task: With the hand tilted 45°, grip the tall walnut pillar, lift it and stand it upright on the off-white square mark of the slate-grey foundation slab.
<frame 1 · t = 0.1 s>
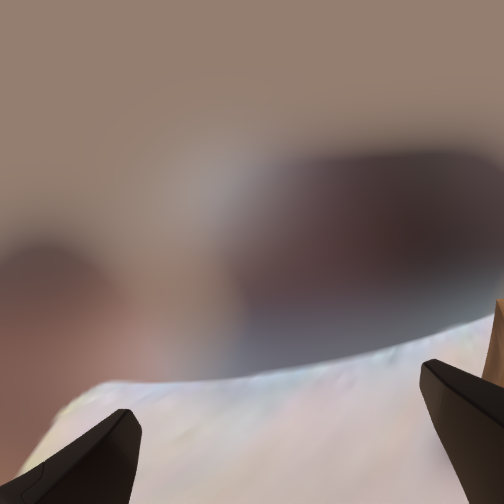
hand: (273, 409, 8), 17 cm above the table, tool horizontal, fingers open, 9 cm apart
walnut pillar: (487, 446, 15), on the table
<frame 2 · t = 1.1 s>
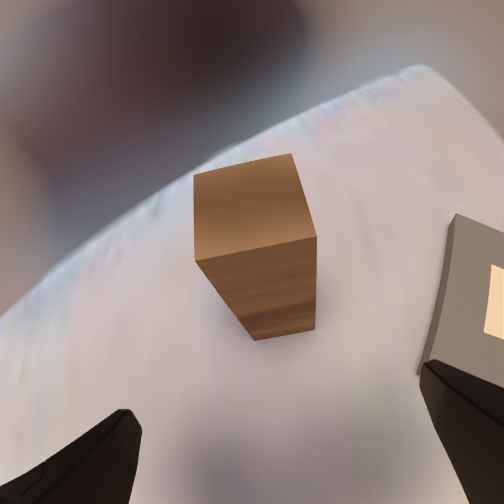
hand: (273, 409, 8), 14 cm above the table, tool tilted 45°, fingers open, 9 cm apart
foundation slab: (502, 315, 19), on the table
walnut pillar: (279, 307, 23), on the table
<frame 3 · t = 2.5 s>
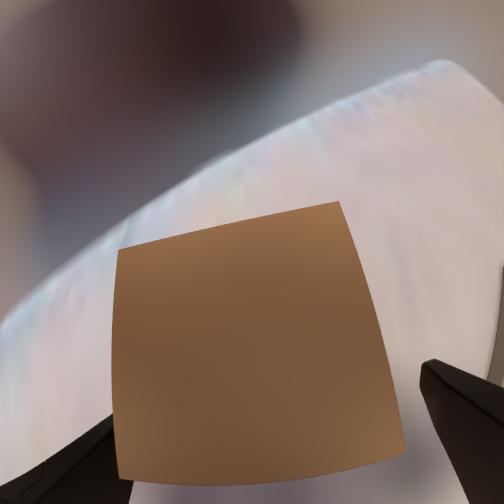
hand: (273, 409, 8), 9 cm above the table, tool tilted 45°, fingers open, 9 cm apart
walnut pillar: (288, 392, 16), on the table
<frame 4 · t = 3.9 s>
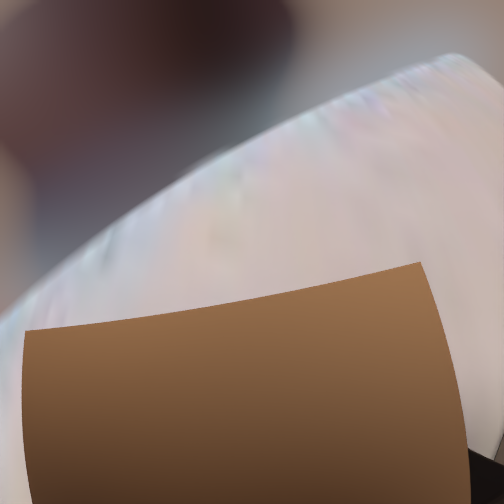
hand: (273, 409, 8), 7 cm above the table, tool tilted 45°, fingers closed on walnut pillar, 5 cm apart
walnut pillar: (292, 434, 13), on the table, touching gripper
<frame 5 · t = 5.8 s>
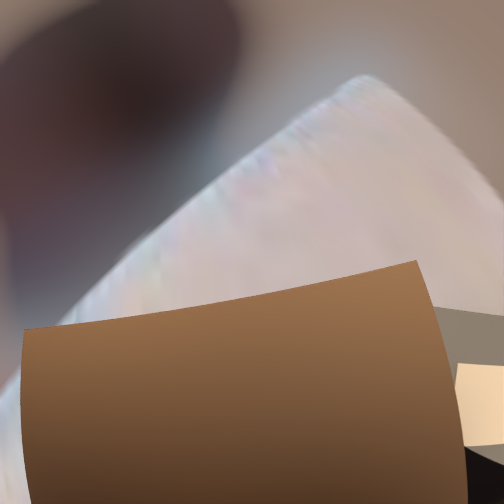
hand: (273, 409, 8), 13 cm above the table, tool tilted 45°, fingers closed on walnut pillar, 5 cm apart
foundation slab: (471, 407, 16), on the table
walnut pillar: (291, 434, 13), point 7 cm above the table, touching gripper
when the fingers open (10 cm above the table, at t = 7.9 s): walnut pillar drops 1 cm, resting on foundation slab.
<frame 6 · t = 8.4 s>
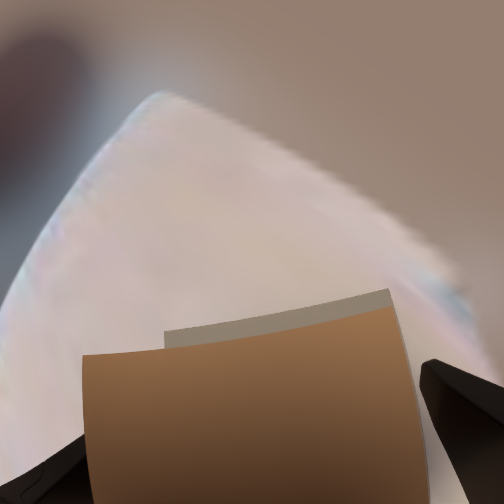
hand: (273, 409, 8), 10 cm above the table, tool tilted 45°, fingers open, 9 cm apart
foundation slab: (295, 429, 16), on the table
walnut pillar: (294, 432, 14), point 2 cm above the table, touching foundation slab
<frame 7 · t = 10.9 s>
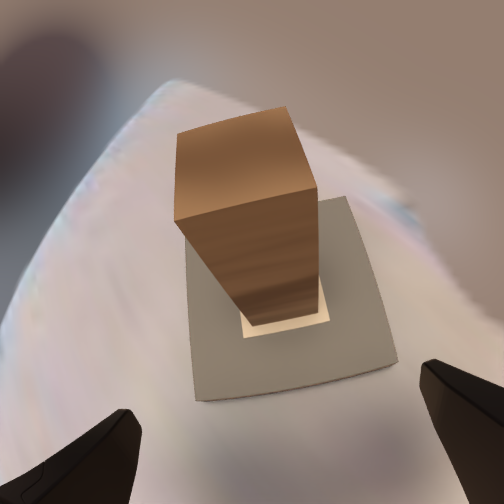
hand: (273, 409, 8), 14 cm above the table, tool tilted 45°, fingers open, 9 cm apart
foundation slab: (282, 300, 23), on the table
walnut pillar: (279, 289, 22), point 2 cm above the table, touching foundation slab
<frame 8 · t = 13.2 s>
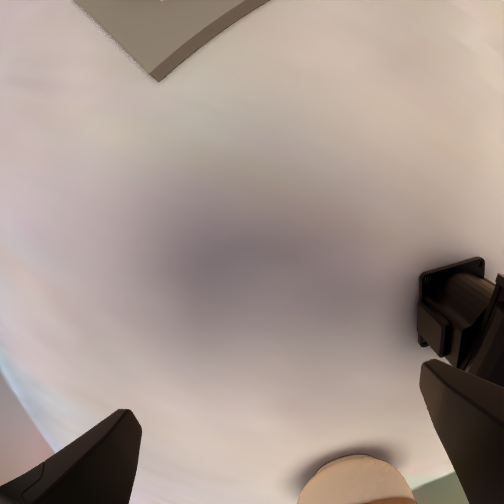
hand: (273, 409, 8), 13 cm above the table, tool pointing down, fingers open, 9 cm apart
lidded bowl: (345, 470, 27), on the table
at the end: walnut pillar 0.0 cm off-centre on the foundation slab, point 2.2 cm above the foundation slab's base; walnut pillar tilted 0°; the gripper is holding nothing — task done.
